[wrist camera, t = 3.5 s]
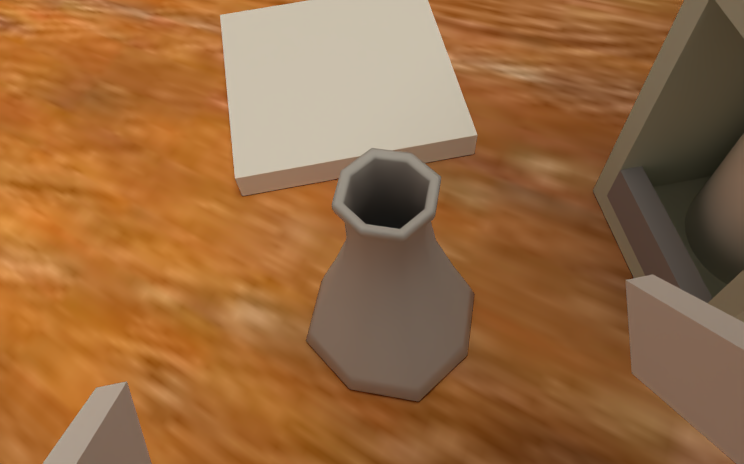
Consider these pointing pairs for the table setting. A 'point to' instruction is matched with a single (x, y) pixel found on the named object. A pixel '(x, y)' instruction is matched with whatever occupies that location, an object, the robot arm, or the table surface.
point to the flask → (390, 283)
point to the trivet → (337, 89)
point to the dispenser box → (686, 161)
